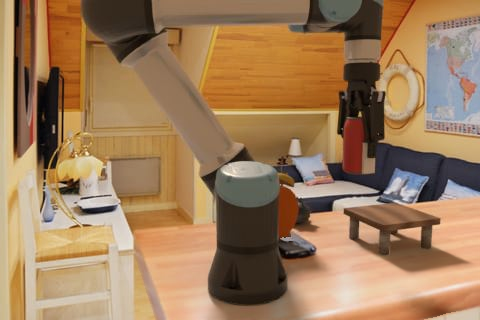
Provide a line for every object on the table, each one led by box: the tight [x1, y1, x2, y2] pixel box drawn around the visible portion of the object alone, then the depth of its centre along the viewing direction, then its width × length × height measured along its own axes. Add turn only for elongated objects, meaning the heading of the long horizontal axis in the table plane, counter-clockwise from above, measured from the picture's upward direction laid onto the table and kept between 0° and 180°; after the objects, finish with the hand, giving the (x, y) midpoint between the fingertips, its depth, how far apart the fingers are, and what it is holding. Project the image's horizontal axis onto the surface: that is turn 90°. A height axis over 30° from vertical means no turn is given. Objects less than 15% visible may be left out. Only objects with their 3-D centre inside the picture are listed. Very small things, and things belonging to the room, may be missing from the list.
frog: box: [296, 196, 314, 223], centre depth 131 cm, size 10×12×8 cm
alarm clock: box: [262, 160, 299, 240], centre depth 113 cm, size 13×6×20 cm, turn 123°
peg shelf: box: [342, 202, 442, 256], centre depth 113 cm, size 16×16×8 cm
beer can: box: [342, 116, 371, 176], centre depth 99 cm, size 7×7×12 cm
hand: (358, 170), depth 100 cm, fingers closed on beer can, 7 cm apart
